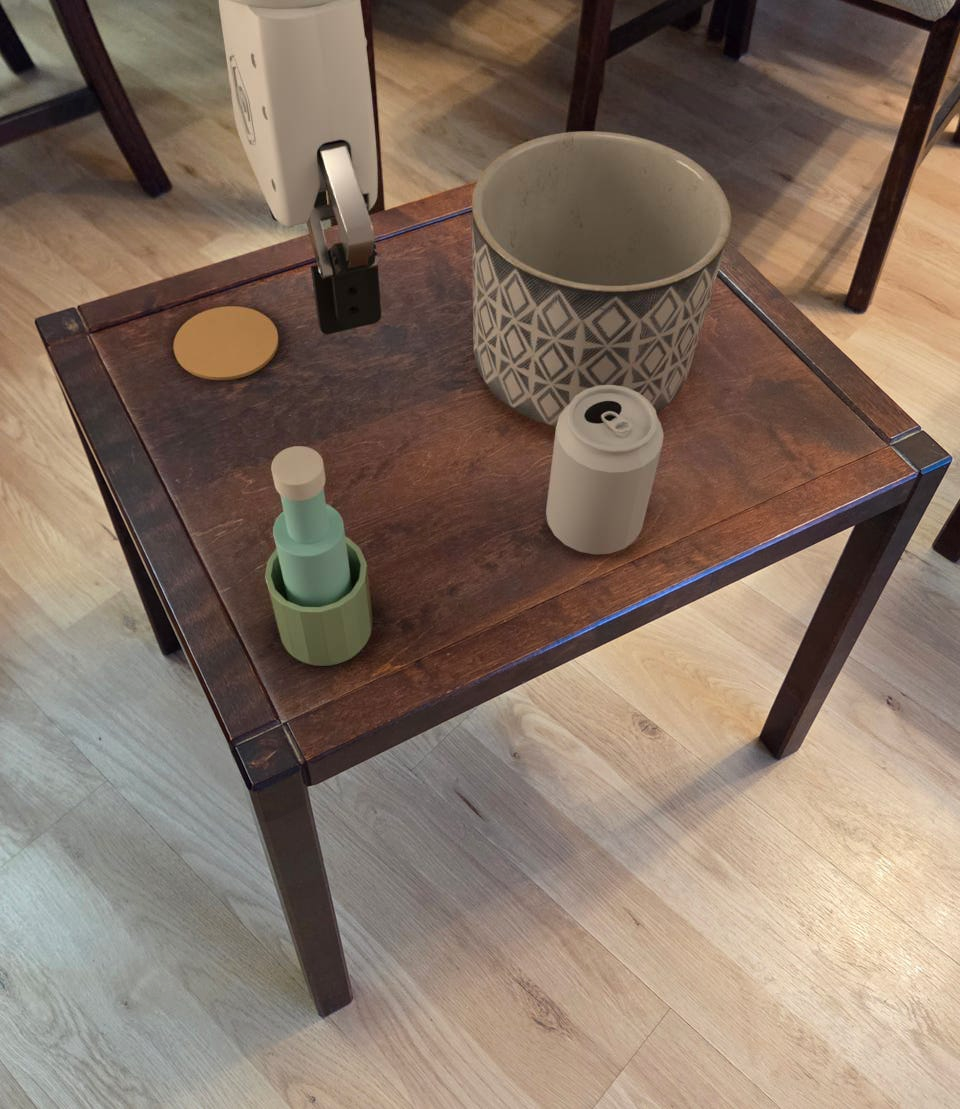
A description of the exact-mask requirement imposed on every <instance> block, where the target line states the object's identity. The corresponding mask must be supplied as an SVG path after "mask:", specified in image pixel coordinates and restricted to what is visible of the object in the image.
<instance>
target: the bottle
mask: <svg viewBox="0 0 960 1109" xmlns="http://www.w3.org/2000/svg"><path fill="white" fill-rule="evenodd" d="M270 466H271V467H270V468H271V475H272V479H273V480H272V481H273V483H274V488H275V491H277V493H278V494H279V496H280V501H281V505H282V506H281V507H282V510H283V511H282V512H280V514H279V515H278V516H277V518H276V520H275V522H274V524H273V527H272V528H273V529H272V534H273V539H274V543H275V547H276V548H277V553H278V557H279V562H280V566H281V571H282V575H283V580H284V584H285V588H286V593H287V597H288V601H289V602H291V603H294V604H296V605H299V606H301V607H322V606H326V605H329V604H332V603H336V602H338V601H339V600H341V599H342V598H343V597H345V596H346V595H347V594H349V593H350V592H351V591H352V584H351V576H350V569H349V561H348V554H347V546H346V539H345V536H346V533H345V532H346V531H345V524H344V520H343V517H342V515H341V514H340V513H339V511H338V510H337V509H335V508H334V507H333V506H331V505H329V504H327V502H326V494H325V488H324V487H325V484H326V479H327V478H326V473H325V466H324V460H323V458H322V456H321V454H319V452H318V451H316V450H315V449H313V448H311V447H308V446H304V445H297V446H296V445H295V446H290V447H287V448H285V449H283V450H281V451H280V452H278V453H277V454H276V455H275V456H274V458H273V460H272V462H271V465H270ZM276 548H275V549H276Z"/></svg>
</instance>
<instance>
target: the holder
mask: <svg viewBox="0 0 960 1109" xmlns="http://www.w3.org/2000/svg"><path fill="white" fill-rule="evenodd" d="M345 539H346V546H347V554H348V561H349V569H350V576H351V584H352V591H351V592H350V593H349V594H347V595H346V596H345V597H343V598H342V599H341V600H339V601H338V602H336V603H332V604H329V605H326V606H322V607H301V606H299V605H296V604H294V603H291V602H289V601H288V597H287V593H286V588H285V584H284V580H283V575H282V571H281V566H280V562H279V557H278V553H277V548H275V549H274V550H273V552H272V553H271V555H270V556H269V558H268V560H267V562H266V568H265V574H264V579H265V583H266V587H267V591H268V595H269V600H270V604H271V608H272V611H273V616H274V619H275V623H276V627H277V632H278V634H279V637H280V641H281V643H282V646H283V647H284V649H285V650H286V651H287V652H288V654H290V655H291V656H292V657H293V658H294V659H296V660H298V661H300V662H302V663H304V664H307V665H310V666H316V667H318V666H319V667H328V666H336V665H338V664H342V663H345V662H347V661H349V660H350V659H353V657H355V656H357V654H358V653H360V652H361V650H362V649H363V648H364V647H365V646H366V645H367V643H368V641H369V640H370V637H371V634H372V630H373V611H372V610H373V609H372V601H371V593H370V583H369V582H370V581H369V574H368V565H367V562H366V559H365V555H364V554H363V551H362V548H360V547H359V546H358V545H357V543H355V542H354V541H353V540H352V539H351V538H350V537H348V536H346V535H345Z"/></svg>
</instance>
